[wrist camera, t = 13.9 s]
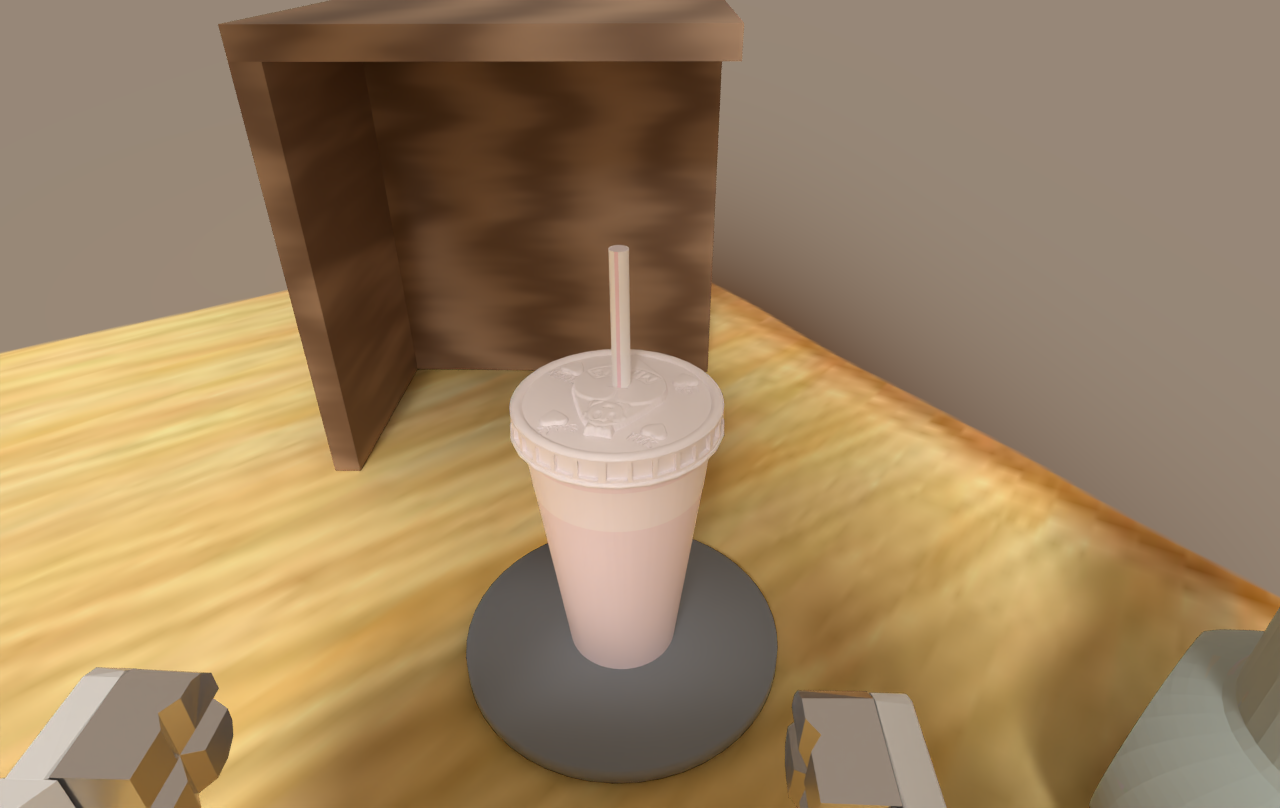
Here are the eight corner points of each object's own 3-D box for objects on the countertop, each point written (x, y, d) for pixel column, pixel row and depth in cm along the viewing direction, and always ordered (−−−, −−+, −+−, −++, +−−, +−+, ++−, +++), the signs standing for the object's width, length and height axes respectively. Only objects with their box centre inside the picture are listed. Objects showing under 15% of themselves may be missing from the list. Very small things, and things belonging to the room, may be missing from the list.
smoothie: (723, 579, 30) (748, 225, 22) (696, 721, 24) (716, 318, 17) (564, 553, 31) (539, 211, 24) (505, 683, 26) (447, 293, 18)
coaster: (433, 779, 23) (430, 767, 23) (499, 536, 33) (497, 525, 32) (797, 787, 23) (799, 775, 23) (759, 539, 32) (759, 529, 32)
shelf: (335, 470, 37) (217, 24, 27) (403, 358, 46) (335, -1, 36) (717, 474, 36) (744, 23, 26) (706, 361, 46) (723, -2, 36)
